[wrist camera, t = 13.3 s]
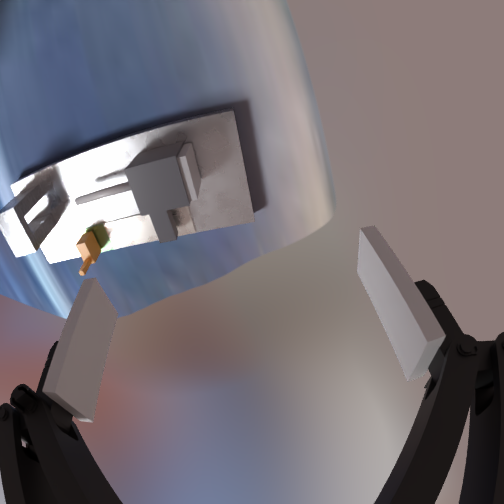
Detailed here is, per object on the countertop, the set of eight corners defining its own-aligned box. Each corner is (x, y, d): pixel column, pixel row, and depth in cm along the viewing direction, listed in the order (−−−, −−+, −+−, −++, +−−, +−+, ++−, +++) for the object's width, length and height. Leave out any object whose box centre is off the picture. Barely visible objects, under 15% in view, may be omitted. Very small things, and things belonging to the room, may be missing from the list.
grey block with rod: (108, 243, 35) (95, 268, 31) (78, 172, 29) (58, 191, 25) (212, 222, 34) (210, 247, 30) (191, 139, 28) (184, 153, 24)
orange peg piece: (92, 252, 35) (79, 277, 31) (82, 233, 33) (67, 257, 29) (101, 250, 35) (88, 275, 31) (92, 230, 33) (76, 255, 29)
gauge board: (55, 255, 38) (32, 291, 31) (18, 179, 30) (-16, 207, 24) (253, 213, 36) (259, 252, 30) (233, 107, 29) (233, 122, 22)
